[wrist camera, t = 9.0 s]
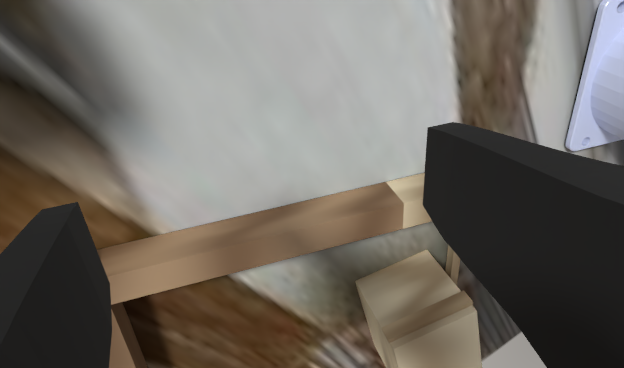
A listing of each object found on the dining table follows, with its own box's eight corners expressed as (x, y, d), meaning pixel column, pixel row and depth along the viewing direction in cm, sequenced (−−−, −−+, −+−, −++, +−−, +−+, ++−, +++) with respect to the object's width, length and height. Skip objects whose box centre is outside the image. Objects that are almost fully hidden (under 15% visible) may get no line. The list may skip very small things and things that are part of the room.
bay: (465, 163, 25) (488, 182, 24) (440, 371, 34) (455, 395, 33) (65, 257, 21) (59, 288, 19) (158, 466, 30) (160, 499, 28)
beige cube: (426, 244, 28) (477, 306, 24) (438, 316, 31) (483, 380, 27) (352, 277, 27) (391, 346, 23) (373, 346, 31) (410, 416, 27)
